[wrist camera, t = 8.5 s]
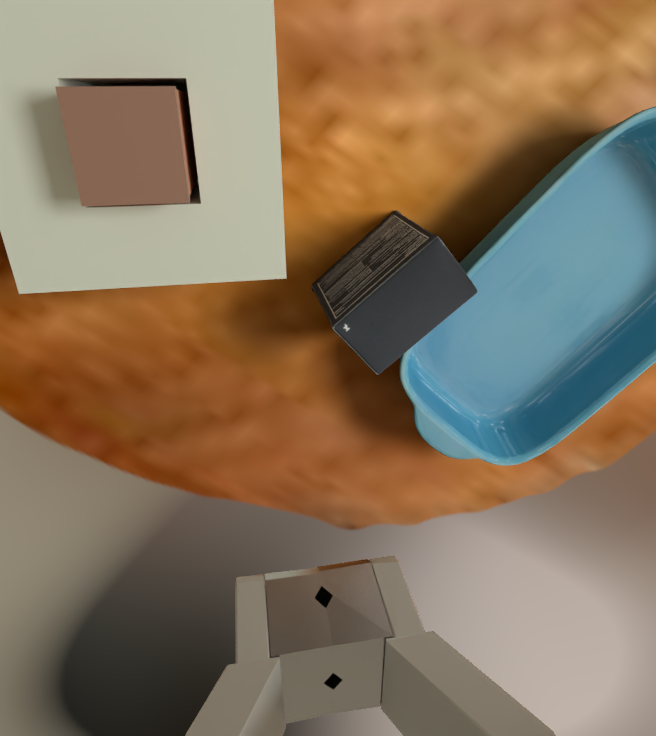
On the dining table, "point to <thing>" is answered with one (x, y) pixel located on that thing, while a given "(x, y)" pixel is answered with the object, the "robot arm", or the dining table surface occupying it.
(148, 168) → the plunger
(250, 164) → the housing
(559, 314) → the casserole dish
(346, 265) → the small box
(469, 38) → the dining table surface
